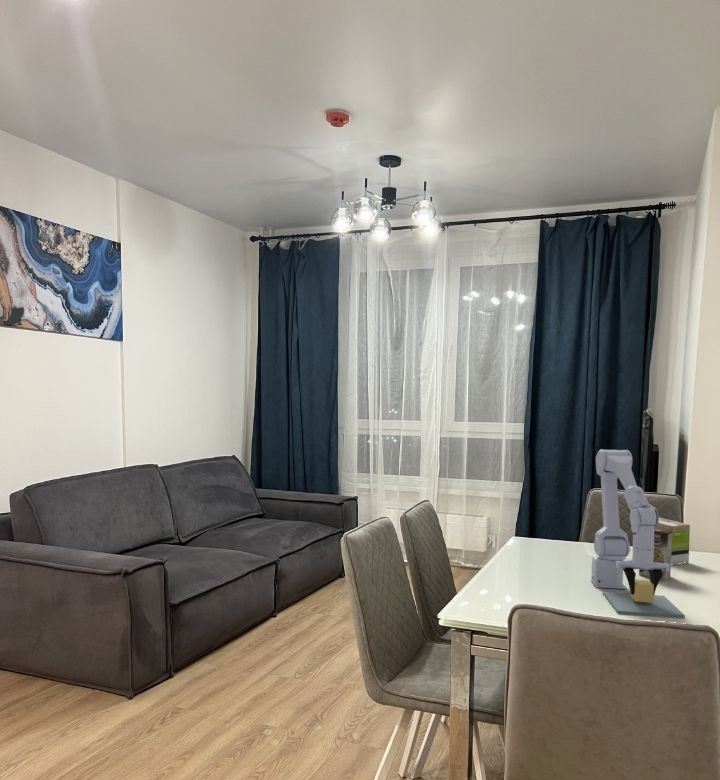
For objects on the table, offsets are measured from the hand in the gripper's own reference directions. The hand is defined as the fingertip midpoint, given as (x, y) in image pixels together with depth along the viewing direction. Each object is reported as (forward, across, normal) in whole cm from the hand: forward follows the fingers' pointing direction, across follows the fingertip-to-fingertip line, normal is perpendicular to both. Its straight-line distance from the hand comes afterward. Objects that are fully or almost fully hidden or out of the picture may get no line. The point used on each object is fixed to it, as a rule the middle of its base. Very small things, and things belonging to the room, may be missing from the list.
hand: (642, 594), depth 196 cm
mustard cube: (+2, 0, 0) cm, 2 cm away
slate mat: (+3, 0, 0) cm, 3 cm away
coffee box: (+4, +14, +35) cm, 38 cm away
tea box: (+4, +25, +61) cm, 66 cm away
